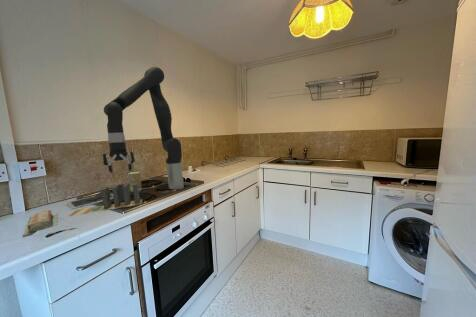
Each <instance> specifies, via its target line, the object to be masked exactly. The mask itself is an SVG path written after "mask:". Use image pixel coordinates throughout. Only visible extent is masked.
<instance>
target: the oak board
mask: <svg viewBox="0 0 476 317" xmlns="http://www.w3.org/2000/svg"><path fill="white" fill-rule="evenodd" d="M130 201H131V202H130V205H127V206H125V201H122V202H121V204H120V206H119V207H115V205H114V203H111V206H110V207H109V209H104V205H100V206H94V207H87V208H81V209H80V208H79V209H76V210H75V209H74V211H73V212H72V213H70V214H69V215H68V217H74V216H80V215H85V214H90V213H91V214H92V213H96V212H103V211H108V210H114V209H119V208H120V209H121V208H127V207H131V206H137V205H142V203H143V199H141V198H140V202H139V204H135V200H130Z"/></svg>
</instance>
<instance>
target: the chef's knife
mask: <svg viewBox="0 0 476 317" xmlns="http://www.w3.org/2000/svg"><path fill="white" fill-rule="evenodd" d="M75 229H76V227H73V228H68V229H63V230H58V231H55V232H52V233H49V234H47V235H45V238H50V237H52V236H55V235H58V234H59V233H62V232H65V231H69V230H71V231H73V230H75Z"/></svg>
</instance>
